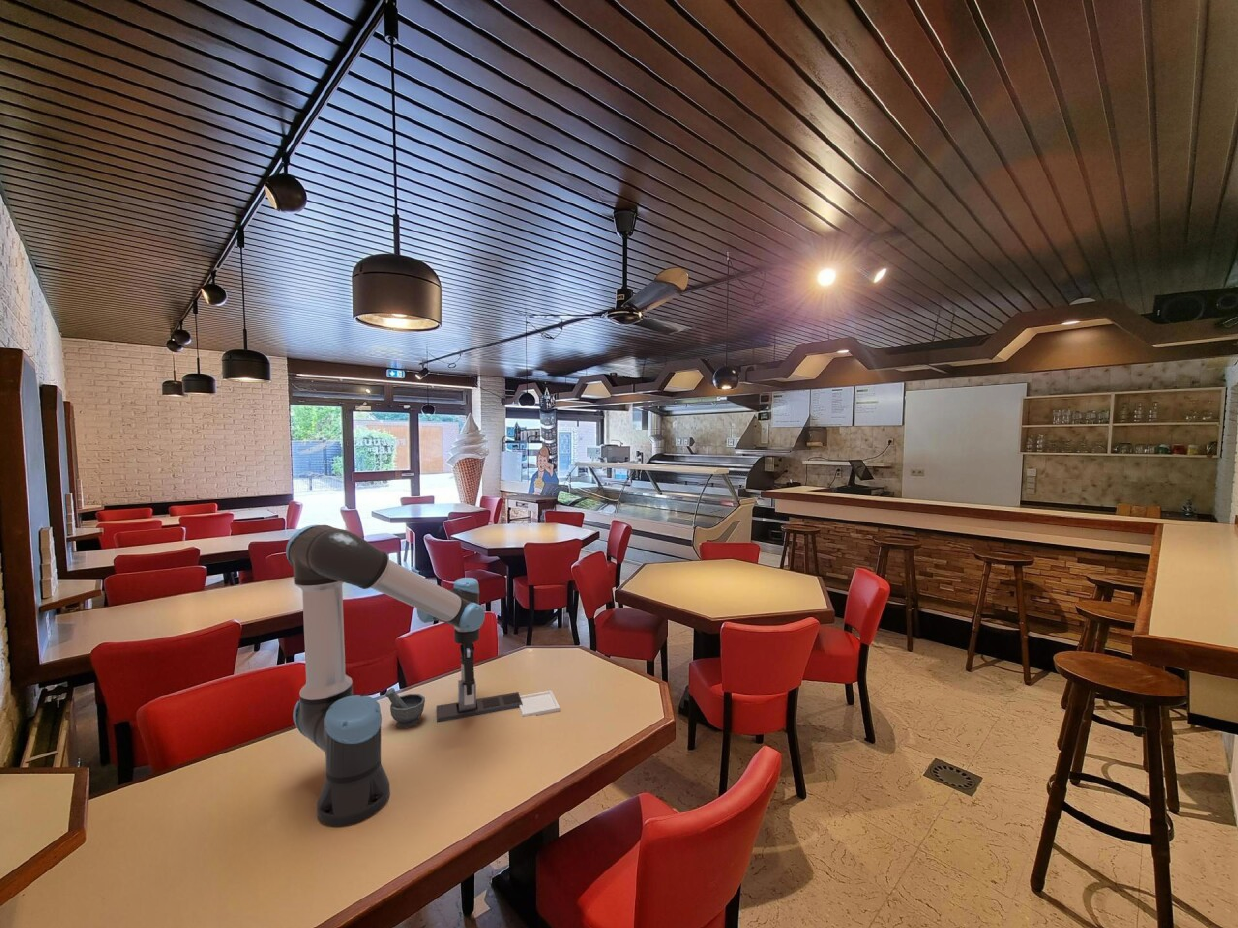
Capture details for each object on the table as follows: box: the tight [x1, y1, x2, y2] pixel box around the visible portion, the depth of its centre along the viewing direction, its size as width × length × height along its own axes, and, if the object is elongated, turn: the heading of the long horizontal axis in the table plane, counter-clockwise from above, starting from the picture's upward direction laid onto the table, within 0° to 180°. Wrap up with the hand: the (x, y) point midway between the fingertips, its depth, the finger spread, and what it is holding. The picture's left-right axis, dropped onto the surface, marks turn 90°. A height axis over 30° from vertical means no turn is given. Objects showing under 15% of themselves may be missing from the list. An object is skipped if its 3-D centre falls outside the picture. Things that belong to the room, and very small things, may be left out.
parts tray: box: [518, 690, 561, 718], centre depth 163 cm, size 12×12×1 cm
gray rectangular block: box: [457, 678, 477, 713], centre depth 158 cm, size 5×5×9 cm
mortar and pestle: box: [384, 687, 426, 729], centre depth 151 cm, size 11×9×12 cm
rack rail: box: [436, 691, 523, 723], centre depth 160 cm, size 8×26×2 cm, turn 111°
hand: (467, 693), depth 158 cm, fingers open, 13 cm apart
